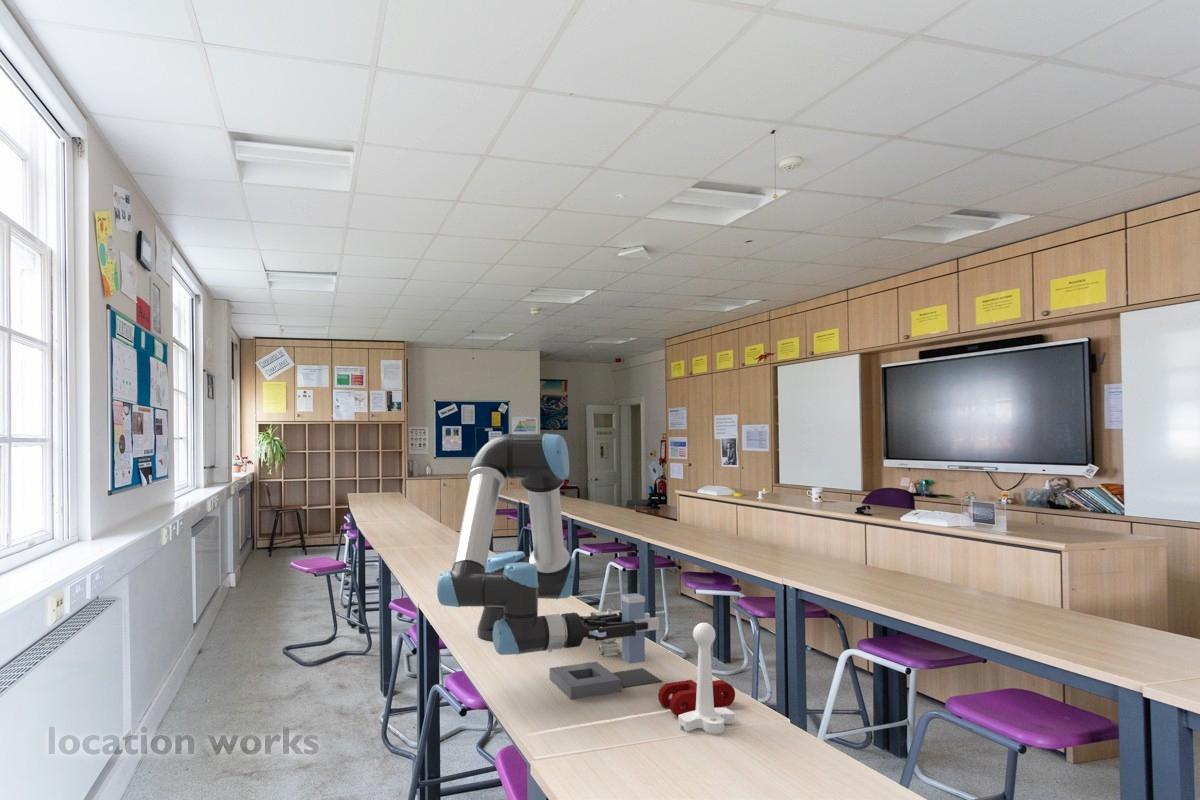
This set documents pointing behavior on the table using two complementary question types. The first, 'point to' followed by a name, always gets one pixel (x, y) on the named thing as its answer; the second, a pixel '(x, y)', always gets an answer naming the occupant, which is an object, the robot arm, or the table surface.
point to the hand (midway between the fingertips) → (653, 621)
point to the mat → (636, 677)
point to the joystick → (705, 690)
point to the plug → (636, 645)
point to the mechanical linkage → (693, 695)
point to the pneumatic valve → (609, 644)
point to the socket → (585, 680)
